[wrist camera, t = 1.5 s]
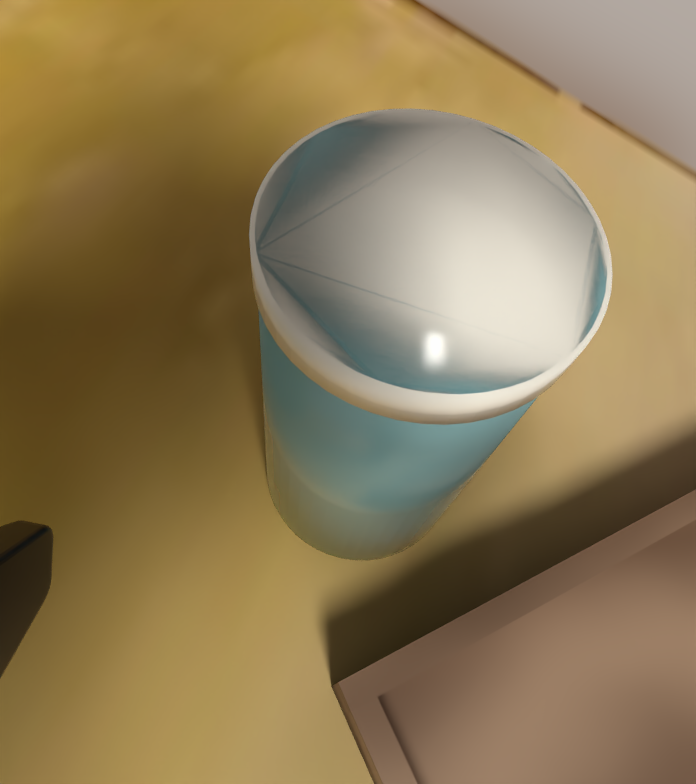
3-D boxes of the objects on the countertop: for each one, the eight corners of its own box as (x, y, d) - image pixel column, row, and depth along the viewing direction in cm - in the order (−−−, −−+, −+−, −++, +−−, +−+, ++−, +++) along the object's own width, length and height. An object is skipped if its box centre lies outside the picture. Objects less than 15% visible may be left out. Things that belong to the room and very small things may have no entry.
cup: (487, 512, 23) (686, 318, 12) (313, 598, 21) (352, 463, 10) (396, 359, 25) (489, 78, 14) (234, 423, 23) (194, 157, 12)
